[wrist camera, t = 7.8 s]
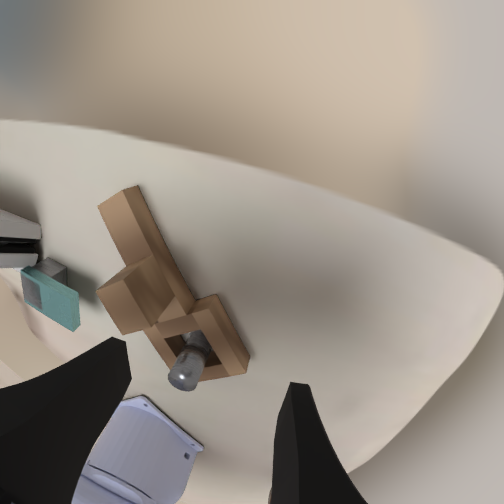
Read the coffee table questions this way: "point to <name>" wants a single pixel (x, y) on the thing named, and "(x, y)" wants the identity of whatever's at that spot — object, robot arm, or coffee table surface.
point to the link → (162, 292)
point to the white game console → (17, 241)
